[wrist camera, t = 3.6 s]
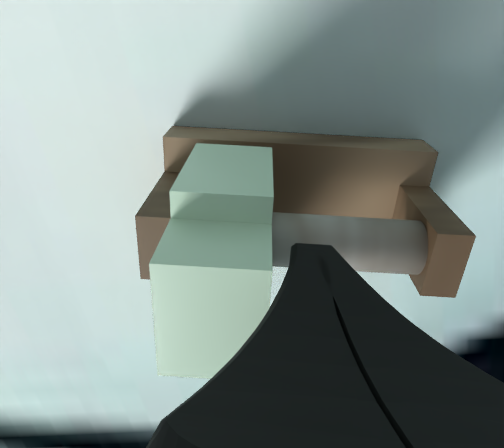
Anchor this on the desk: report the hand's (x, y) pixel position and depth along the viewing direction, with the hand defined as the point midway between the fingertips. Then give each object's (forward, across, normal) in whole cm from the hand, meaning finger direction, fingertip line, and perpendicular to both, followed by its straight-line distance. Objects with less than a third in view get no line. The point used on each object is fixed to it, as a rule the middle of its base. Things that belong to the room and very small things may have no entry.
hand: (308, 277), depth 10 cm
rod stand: (+6, 0, 0) cm, 6 cm away
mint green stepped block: (+4, +2, 0) cm, 4 cm away
